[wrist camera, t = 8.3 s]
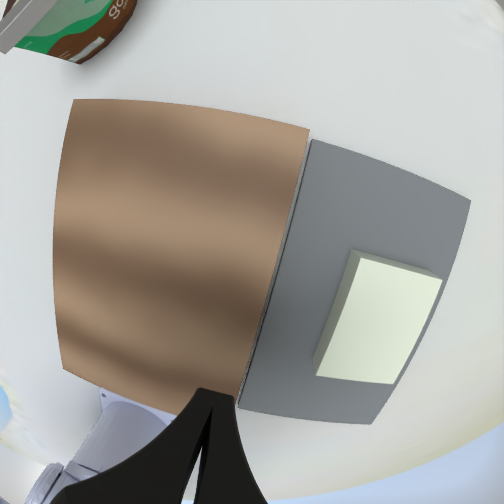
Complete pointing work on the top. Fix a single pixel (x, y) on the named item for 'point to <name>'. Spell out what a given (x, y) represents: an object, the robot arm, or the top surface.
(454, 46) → the top surface
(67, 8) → the food container
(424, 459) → the top surface
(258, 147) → the board
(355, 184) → the mat
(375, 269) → the tile
